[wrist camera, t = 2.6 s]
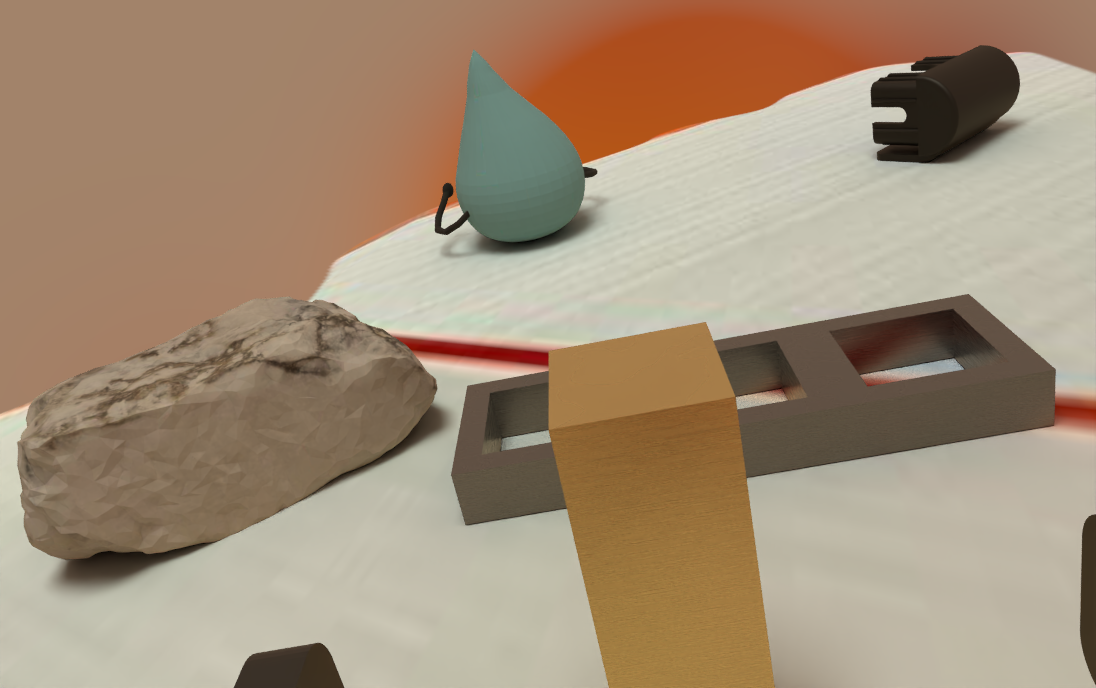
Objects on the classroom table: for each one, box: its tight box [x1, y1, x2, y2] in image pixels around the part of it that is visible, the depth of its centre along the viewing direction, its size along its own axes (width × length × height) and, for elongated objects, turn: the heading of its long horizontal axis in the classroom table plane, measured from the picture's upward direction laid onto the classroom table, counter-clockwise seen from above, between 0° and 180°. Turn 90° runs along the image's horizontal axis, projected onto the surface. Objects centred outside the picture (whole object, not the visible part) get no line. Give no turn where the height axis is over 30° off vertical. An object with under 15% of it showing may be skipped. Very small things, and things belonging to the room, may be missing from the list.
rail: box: [451, 294, 1056, 525], centre depth 40 cm, size 24×8×2 cm, turn 90°
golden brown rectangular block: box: [549, 322, 775, 688], centre depth 23 cm, size 4×4×12 cm
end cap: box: [871, 45, 1020, 163], centre depth 71 cm, size 10×7×7 cm
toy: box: [435, 50, 597, 242], centre depth 71 cm, size 15×12×15 cm
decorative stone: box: [17, 297, 437, 560], centre depth 46 cm, size 20×14×10 cm
